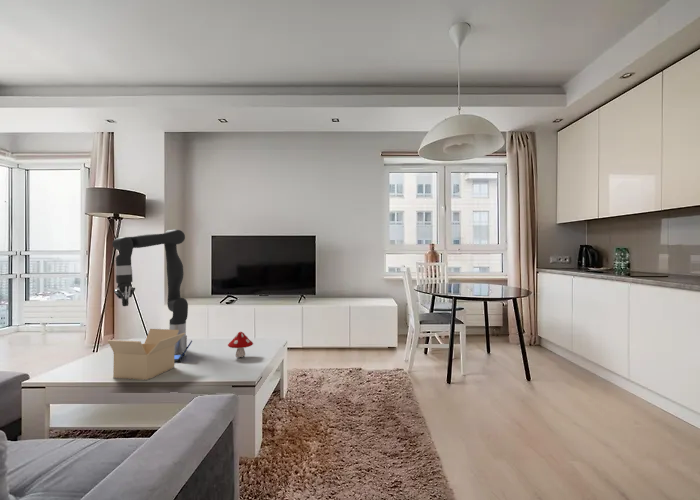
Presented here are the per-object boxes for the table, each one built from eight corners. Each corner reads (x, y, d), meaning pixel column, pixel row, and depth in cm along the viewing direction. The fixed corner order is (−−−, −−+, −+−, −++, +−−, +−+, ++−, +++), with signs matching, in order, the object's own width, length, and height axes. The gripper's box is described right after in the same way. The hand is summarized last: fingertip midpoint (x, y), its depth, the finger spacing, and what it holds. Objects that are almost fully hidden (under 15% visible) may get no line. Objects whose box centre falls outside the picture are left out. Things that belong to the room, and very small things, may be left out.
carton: (148, 363, 198) (149, 328, 198) (179, 365, 195) (179, 329, 195) (105, 380, 170) (105, 340, 170) (140, 383, 167) (140, 341, 167)
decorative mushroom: (222, 360, 205) (222, 333, 205) (235, 353, 218) (235, 328, 219) (244, 361, 202) (245, 334, 202) (256, 355, 215) (257, 329, 215)
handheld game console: (167, 356, 212) (168, 341, 213) (192, 355, 216) (192, 339, 216) (161, 364, 197) (161, 347, 198) (188, 362, 201) (188, 345, 201)
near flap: (184, 332, 189) (185, 333, 189) (173, 344, 190) (174, 345, 190) (160, 340, 171) (160, 341, 171) (148, 353, 172) (148, 354, 172)
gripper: (120, 274, 189) (121, 307, 189) (139, 272, 202) (140, 304, 202) (107, 275, 190) (109, 308, 190) (127, 273, 203) (128, 304, 203)
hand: (125, 306), depth 196 cm, fingers closed
